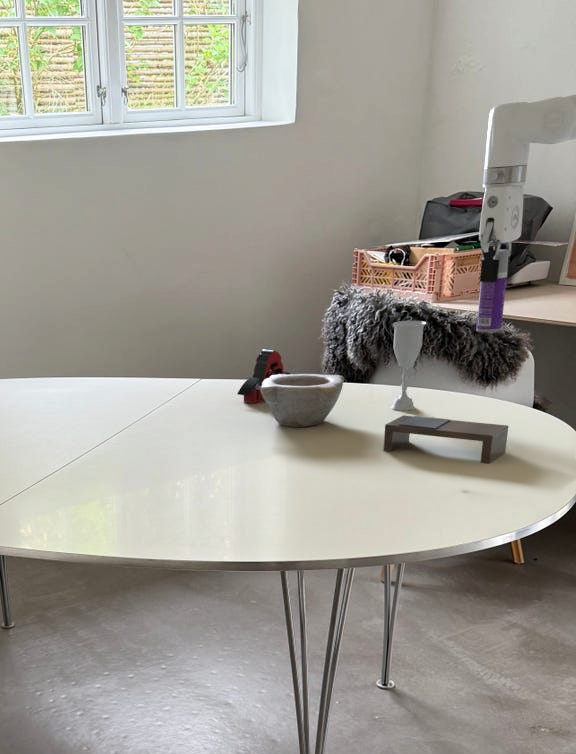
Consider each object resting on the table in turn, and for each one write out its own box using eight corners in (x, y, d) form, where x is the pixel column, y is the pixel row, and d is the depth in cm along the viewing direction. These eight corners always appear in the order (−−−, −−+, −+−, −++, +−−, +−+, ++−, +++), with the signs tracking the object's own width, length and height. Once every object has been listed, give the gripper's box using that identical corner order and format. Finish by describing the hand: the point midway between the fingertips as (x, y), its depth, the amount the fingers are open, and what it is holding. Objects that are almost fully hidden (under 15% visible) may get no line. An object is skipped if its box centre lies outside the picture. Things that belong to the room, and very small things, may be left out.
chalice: (414, 412, 205) (421, 326, 198) (383, 410, 209) (388, 325, 201) (422, 405, 211) (429, 320, 203) (391, 403, 214) (397, 320, 206)
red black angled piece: (247, 405, 222) (247, 356, 217) (237, 403, 225) (236, 355, 220) (298, 391, 232) (299, 344, 227) (287, 390, 234) (288, 343, 230)
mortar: (346, 413, 209) (348, 371, 205) (334, 432, 195) (336, 387, 191) (270, 412, 215) (271, 371, 211) (253, 430, 201) (253, 387, 197)
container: (505, 330, 189) (514, 250, 183) (481, 332, 189) (490, 252, 183) (495, 327, 194) (503, 248, 187) (472, 329, 193) (479, 250, 187)
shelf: (505, 452, 174) (508, 424, 172) (489, 463, 169) (492, 434, 167) (401, 440, 186) (403, 414, 184) (383, 450, 181) (385, 423, 179)
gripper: (508, 178, 171) (496, 285, 179) (540, 174, 182) (528, 274, 190) (466, 181, 176) (457, 285, 184) (501, 176, 187) (491, 274, 195)
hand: (494, 278), depth 187 cm, fingers closed on container, 4 cm apart
